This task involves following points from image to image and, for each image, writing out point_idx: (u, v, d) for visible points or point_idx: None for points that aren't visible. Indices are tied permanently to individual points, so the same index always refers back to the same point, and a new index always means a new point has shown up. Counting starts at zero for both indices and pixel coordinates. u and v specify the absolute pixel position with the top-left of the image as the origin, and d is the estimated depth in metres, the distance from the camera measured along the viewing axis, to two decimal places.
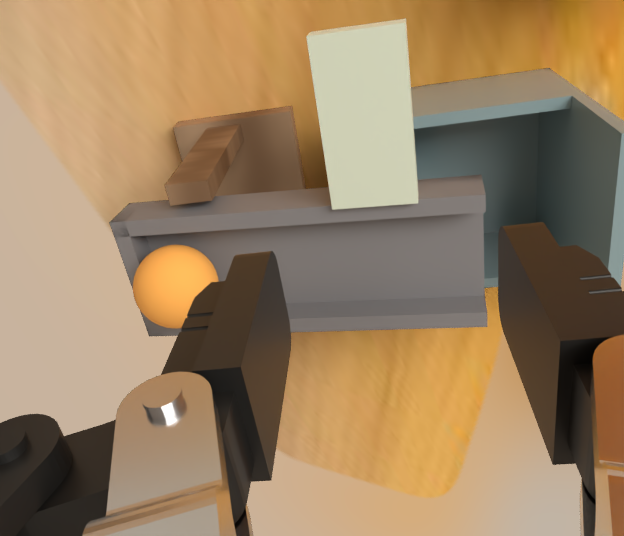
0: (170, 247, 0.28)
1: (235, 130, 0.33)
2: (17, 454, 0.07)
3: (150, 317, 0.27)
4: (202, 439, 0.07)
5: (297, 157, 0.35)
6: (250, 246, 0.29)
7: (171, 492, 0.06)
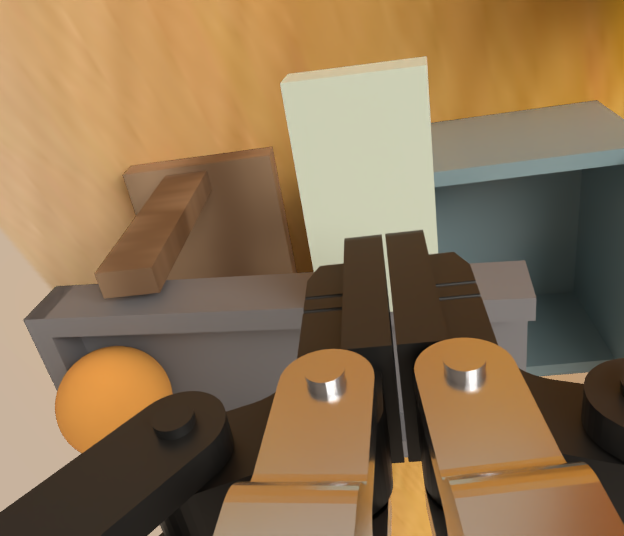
0: (104, 354, 0.21)
1: (199, 181, 0.26)
2: (188, 430, 0.07)
3: (77, 450, 0.20)
4: (355, 427, 0.07)
5: (279, 210, 0.28)
6: (214, 345, 0.22)
7: (316, 473, 0.06)
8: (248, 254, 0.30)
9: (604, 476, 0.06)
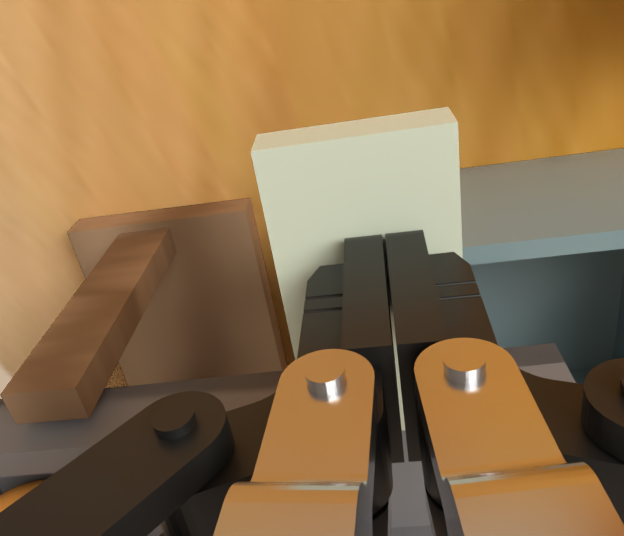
0: None
1: (158, 244, 0.21)
2: (188, 430, 0.07)
3: None
4: (355, 426, 0.07)
5: (259, 274, 0.23)
6: None
7: (316, 473, 0.06)
8: (222, 324, 0.25)
9: (604, 476, 0.06)
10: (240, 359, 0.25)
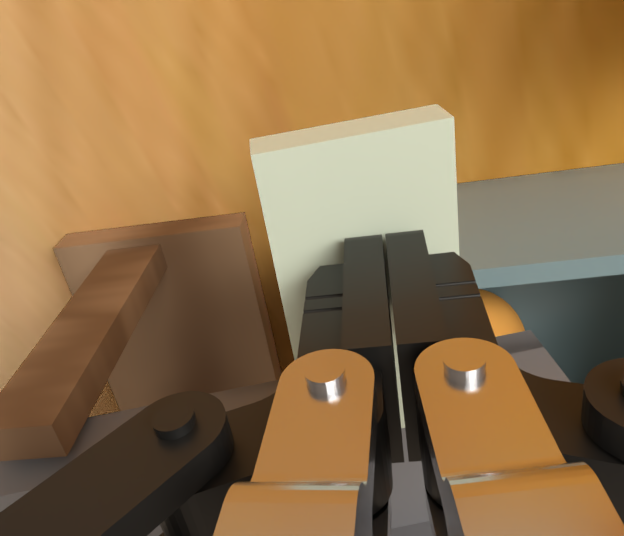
0: None
1: (147, 262, 0.20)
2: (188, 430, 0.07)
3: None
4: (355, 426, 0.07)
5: (254, 292, 0.22)
6: None
7: (315, 473, 0.06)
8: (216, 343, 0.23)
9: (604, 476, 0.06)
10: (235, 379, 0.24)
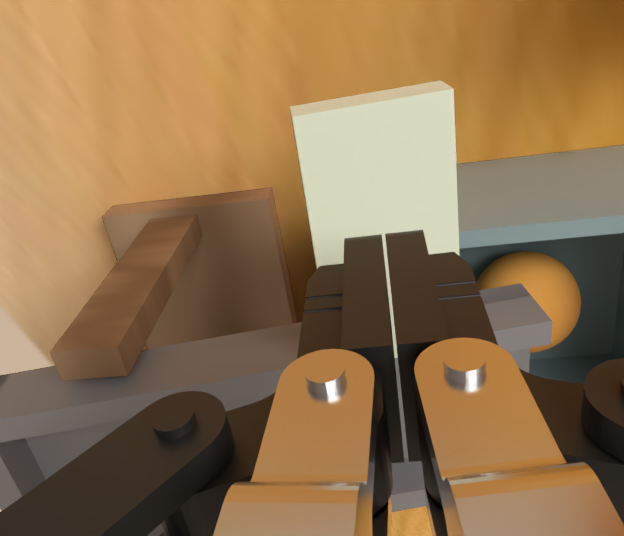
0: (524, 254, 0.23)
1: (187, 228, 0.23)
2: (188, 430, 0.07)
3: None
4: (355, 426, 0.07)
5: (279, 259, 0.25)
6: None
7: (316, 473, 0.06)
8: (243, 306, 0.26)
9: (604, 476, 0.06)
10: None
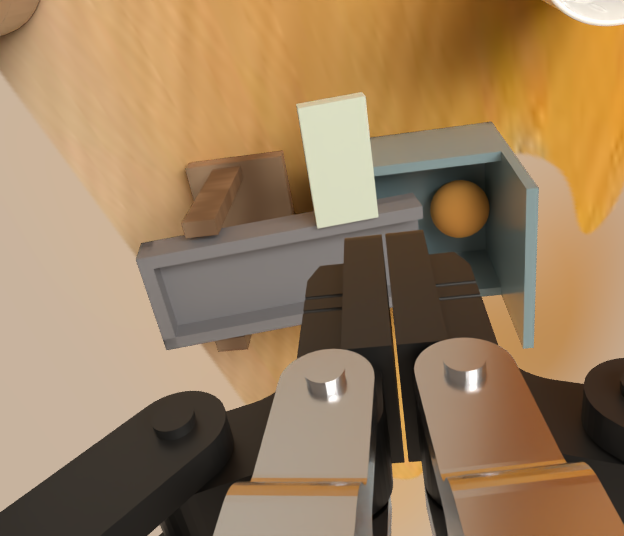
0: (454, 182, 0.41)
1: (236, 172, 0.41)
2: (188, 430, 0.07)
3: None
4: (356, 427, 0.07)
5: (287, 192, 0.43)
6: (246, 265, 0.37)
7: (316, 473, 0.06)
8: None
9: (604, 476, 0.06)
10: None
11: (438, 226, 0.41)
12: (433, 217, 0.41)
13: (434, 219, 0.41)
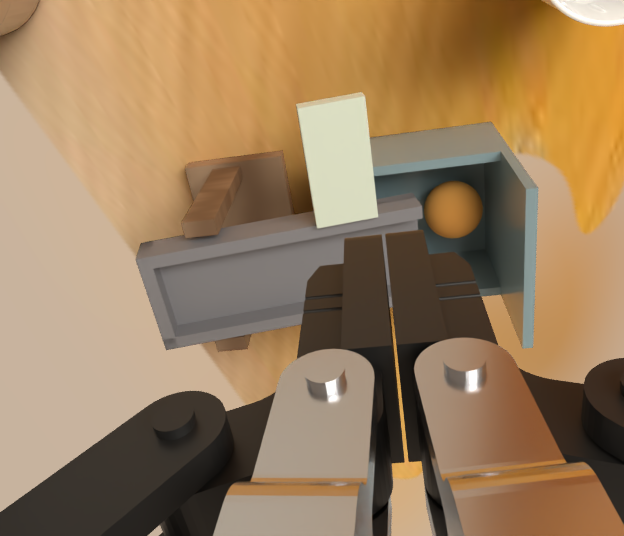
0: (448, 182, 0.41)
1: (236, 172, 0.41)
2: (188, 430, 0.07)
3: (480, 219, 0.41)
4: (355, 427, 0.07)
5: (287, 192, 0.43)
6: (246, 265, 0.37)
7: (315, 473, 0.06)
8: None
9: (604, 476, 0.06)
10: None
11: (428, 225, 0.42)
12: (424, 215, 0.42)
13: (425, 218, 0.41)
